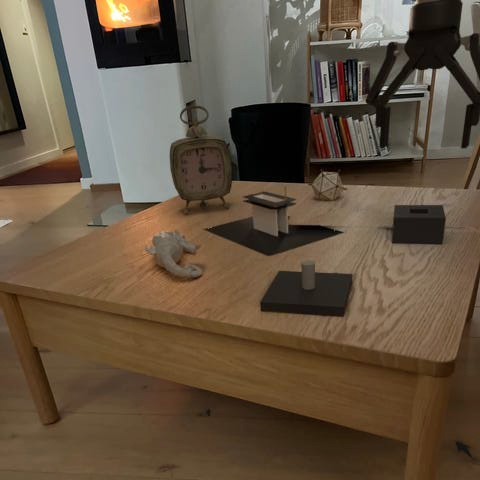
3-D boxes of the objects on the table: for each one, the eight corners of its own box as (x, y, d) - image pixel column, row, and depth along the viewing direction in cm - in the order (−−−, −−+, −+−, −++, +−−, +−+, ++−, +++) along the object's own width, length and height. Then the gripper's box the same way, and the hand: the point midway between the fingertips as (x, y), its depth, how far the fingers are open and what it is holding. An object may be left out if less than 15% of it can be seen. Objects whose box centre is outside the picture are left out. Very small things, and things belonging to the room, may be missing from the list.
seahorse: (228, 265, 84) (185, 224, 98) (169, 259, 78) (132, 217, 92) (220, 291, 86) (179, 247, 101) (161, 287, 80) (127, 241, 94)
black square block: (439, 229, 96) (442, 204, 93) (442, 244, 88) (445, 217, 86) (393, 228, 98) (394, 204, 96) (391, 243, 91) (393, 217, 88)
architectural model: (272, 211, 118) (270, 170, 113) (344, 232, 99) (345, 184, 94) (203, 229, 109) (198, 185, 104) (268, 255, 90) (265, 204, 85)
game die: (320, 215, 124) (308, 181, 125) (352, 202, 122) (339, 167, 123) (315, 207, 116) (301, 170, 117) (349, 192, 113) (335, 155, 114)
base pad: (352, 282, 76) (353, 249, 74) (343, 316, 66) (344, 280, 64) (279, 278, 80) (277, 247, 77) (260, 311, 70) (258, 276, 67)
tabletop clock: (179, 217, 119) (164, 109, 108) (175, 209, 127) (160, 107, 116) (235, 209, 122) (226, 103, 110) (228, 202, 130) (218, 101, 118)
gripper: (349, 11, 76) (346, 149, 86) (527, -15, 64) (500, 151, 74) (365, 13, 82) (360, 143, 92) (532, -10, 69) (505, 143, 79)
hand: (422, 147), depth 83 cm, fingers open, 13 cm apart
